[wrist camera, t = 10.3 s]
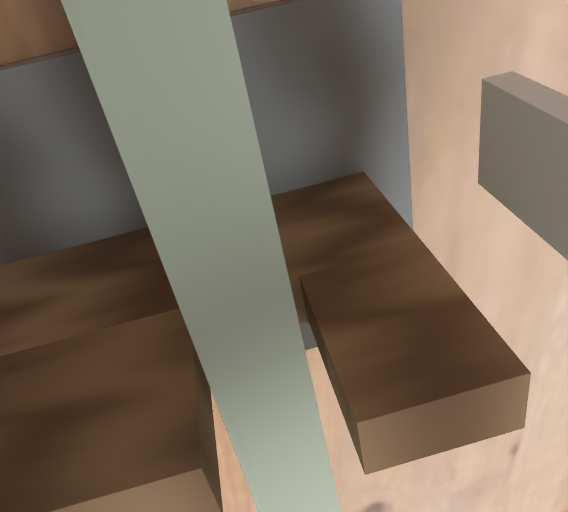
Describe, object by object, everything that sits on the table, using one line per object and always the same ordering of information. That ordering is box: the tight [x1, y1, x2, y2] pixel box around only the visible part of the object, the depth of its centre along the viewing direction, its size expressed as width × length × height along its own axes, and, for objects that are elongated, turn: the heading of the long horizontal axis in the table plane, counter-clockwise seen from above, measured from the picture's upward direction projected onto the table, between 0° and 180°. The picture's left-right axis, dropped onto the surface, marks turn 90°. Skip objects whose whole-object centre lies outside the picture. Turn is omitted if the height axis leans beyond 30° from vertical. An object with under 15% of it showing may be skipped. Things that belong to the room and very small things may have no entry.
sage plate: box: [61, 0, 341, 512], centre depth 15 cm, size 15×2×12 cm, turn 11°
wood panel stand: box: [0, 0, 531, 512], centre depth 17 cm, size 22×16×13 cm
